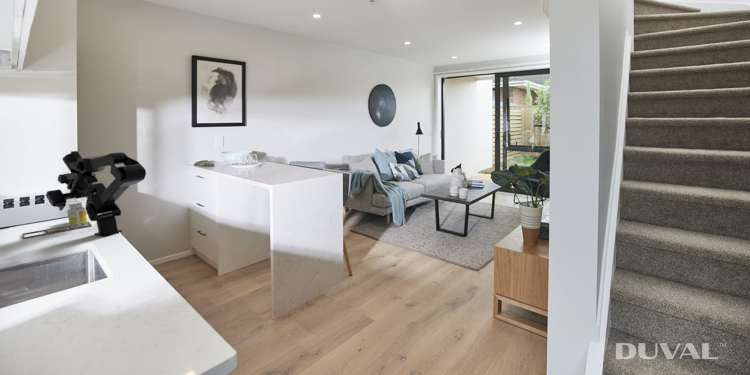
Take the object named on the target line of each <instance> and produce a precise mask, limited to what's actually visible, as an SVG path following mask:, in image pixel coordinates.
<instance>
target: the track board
mask: <svg viewBox="0 0 750 375" xmlns="http://www.w3.org/2000/svg"><path fill="white" fill-rule="evenodd" d="M92 225H93V224H91V223H90V221H87V225H86V226H83V227H77V228H72V227H71V225H70V224H67V225H63V226H56V227H53V228H52V227H51V228H46V229H41V230H35V231H30V232H23V233H22V238H23V240H25V239H30V238H36V237H41V236H47V235H52V234H53V235H54V234H58V233H65V232H68V231H74V229H75V230H79V229H83V228H90V227H92ZM40 232H42V233H40ZM43 232H45V233H43ZM36 233H40V234H36ZM30 234H34V235H30ZM25 235H28V236H25ZM29 235H30V236H29Z"/></svg>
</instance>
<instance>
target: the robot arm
mask: <svg viewBox="0 0 750 375" xmlns="http://www.w3.org/2000/svg"><path fill="white" fill-rule="evenodd" d="M62 161H63V163H64V164H65V166H66V167H67V169H68V170H69V173H68V172H67V173H63V174H58V176H57V182H58V183H59V184H61V185H64V184H65V185H67V186H66V188H67V190H69V192H65V193H63V191H62V189H59V188H58V189H53V190H47V191H46V193H45V197H46V199H47V200H48V202H49V203H50V205H51V206H52V207H57V208H58V210H59V211H60V212H61V211H63V210H64V208H65V207H66V206H67V201H68V200H72V199H75V200H76V199H83V198H86V202H85V207H84V208H85V212H86V215H87V216H88V219H89V220H90V222H96V227H97V232H94V234H93V235H95V236H99V237H108V236H111V235H114V234H117V233H121V232H123V229H118V224H117V220H116V217H119V216H122V210H121V209H120V206H118V204H117V203H116V201H117V200H118V199H119V198H120V196H122V195H123V194H124V193H125V191H127V189H129V187H130V186H132V185H137V184H138V183H140V182H143V181H144V180H145V178H146V176H147V175H146V174H147V171H146V168H145V167H143V164H141V163H140V162H139V161H138V160H136V159H134V158H132V157H129V156H128V155H127V154H126V153H125V152H111V153H110V152H109V153H108V154H105V155H102V156H88V157H83V156H82V155H81V154H80V153H79V151H78V150H73V151H72V150H71V152H70V153H67V154H66V155H64V156H63V157H62ZM116 165H120V166H116ZM121 165H123V166H121ZM106 167H110V172H109V173H110V174H111V175H112V177H113V178H114V179H113V181H111V183H110V184H109V185H108V186H107V187H106V185H105V184H104V183H103V182H99V181H98V178H97V177H96V173H97V172H98V173H99V172H102V171H104V170H106ZM97 182H98V183H97Z"/></svg>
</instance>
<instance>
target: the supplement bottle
mask: <svg viewBox="0 0 750 375" xmlns="http://www.w3.org/2000/svg"><path fill="white" fill-rule="evenodd" d="M68 207H69V208H68V210H67V211H68V213H67V216H68V215H69V218H68V221H69V220H70V222H69V225H71V227H72V228H77V227H83V226H86V225H87V222H88V220H87V211H86V209H85V208H86V207H83V202H82V201H75V202H71V203H68Z"/></svg>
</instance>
